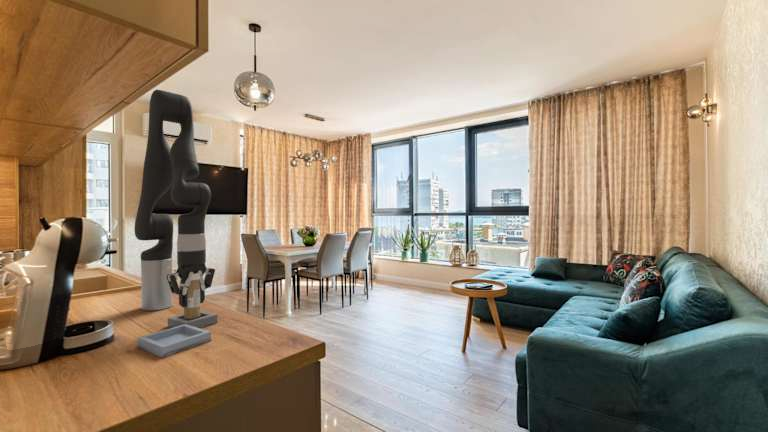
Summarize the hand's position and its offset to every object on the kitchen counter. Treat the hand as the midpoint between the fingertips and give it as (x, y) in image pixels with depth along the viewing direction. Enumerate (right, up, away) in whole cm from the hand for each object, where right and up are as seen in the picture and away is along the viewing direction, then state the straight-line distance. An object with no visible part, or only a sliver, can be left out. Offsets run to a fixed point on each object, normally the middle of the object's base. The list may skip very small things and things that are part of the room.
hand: (192, 304), depth 105 cm
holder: (0, -6, 0) cm, 6 cm away
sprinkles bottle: (0, -4, 0) cm, 4 cm away
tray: (+4, -6, -15) cm, 17 cm away
